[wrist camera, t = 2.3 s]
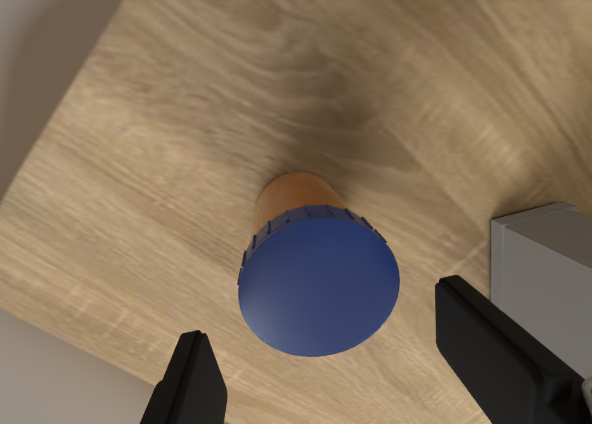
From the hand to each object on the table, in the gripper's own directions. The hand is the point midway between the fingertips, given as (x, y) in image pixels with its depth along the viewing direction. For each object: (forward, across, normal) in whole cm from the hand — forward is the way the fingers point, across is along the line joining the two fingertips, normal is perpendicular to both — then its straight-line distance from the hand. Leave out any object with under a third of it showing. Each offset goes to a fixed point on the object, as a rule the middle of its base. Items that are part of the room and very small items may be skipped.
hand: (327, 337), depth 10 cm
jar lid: (+2, 0, 0) cm, 2 cm away
